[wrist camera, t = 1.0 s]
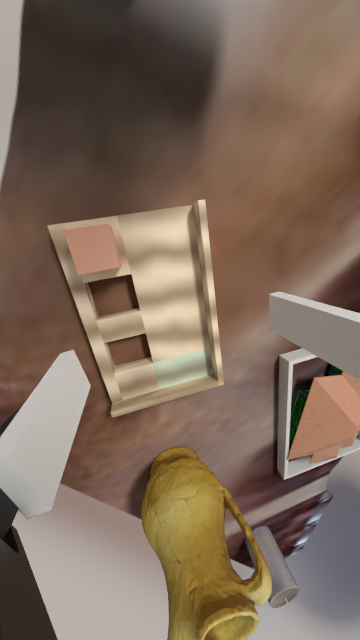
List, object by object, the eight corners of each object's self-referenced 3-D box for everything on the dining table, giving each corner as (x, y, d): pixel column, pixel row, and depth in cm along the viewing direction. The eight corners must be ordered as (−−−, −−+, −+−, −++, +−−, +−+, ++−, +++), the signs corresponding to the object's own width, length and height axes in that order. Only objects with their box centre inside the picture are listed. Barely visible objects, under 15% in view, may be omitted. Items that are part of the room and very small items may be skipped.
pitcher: (140, 445, 43) (160, 659, 21) (215, 432, 49) (296, 592, 26) (136, 495, 49) (148, 708, 26) (204, 479, 54) (263, 644, 32)
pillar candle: (266, 539, 71) (298, 607, 57) (242, 547, 69) (270, 620, 55) (271, 522, 68) (307, 589, 55) (246, 529, 66) (277, 602, 52)
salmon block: (75, 234, 27) (62, 230, 22) (112, 228, 27) (108, 223, 23) (87, 271, 28) (78, 274, 24) (122, 265, 29) (119, 267, 24)
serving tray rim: (279, 354, 45) (289, 361, 42) (384, 324, 49) (398, 329, 47) (277, 469, 59) (284, 479, 56) (358, 437, 64) (369, 445, 61)
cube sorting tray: (54, 227, 28) (38, 222, 23) (194, 207, 31) (205, 199, 26) (114, 398, 39) (112, 417, 34) (213, 369, 42) (223, 384, 37)
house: (276, 455, 56) (299, 486, 49) (307, 353, 46) (341, 372, 39) (338, 443, 62) (367, 469, 54) (378, 349, 52) (420, 365, 44)
